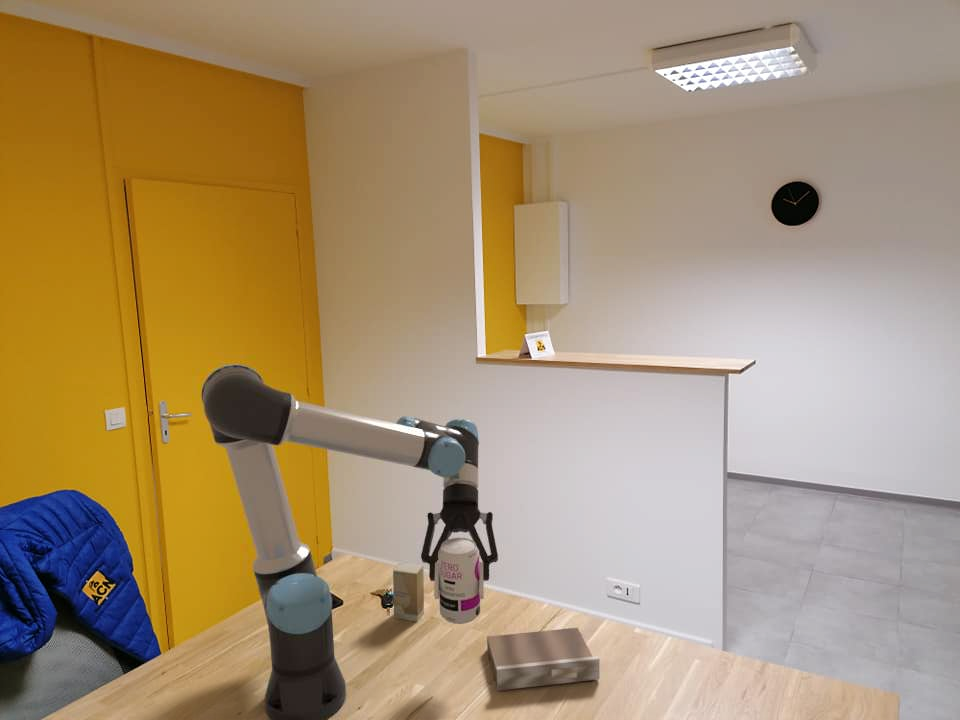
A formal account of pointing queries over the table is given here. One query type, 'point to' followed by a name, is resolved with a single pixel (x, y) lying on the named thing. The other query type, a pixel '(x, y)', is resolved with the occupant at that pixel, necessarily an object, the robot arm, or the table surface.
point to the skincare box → (408, 591)
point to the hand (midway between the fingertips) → (459, 597)
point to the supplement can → (459, 580)
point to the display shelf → (541, 658)
